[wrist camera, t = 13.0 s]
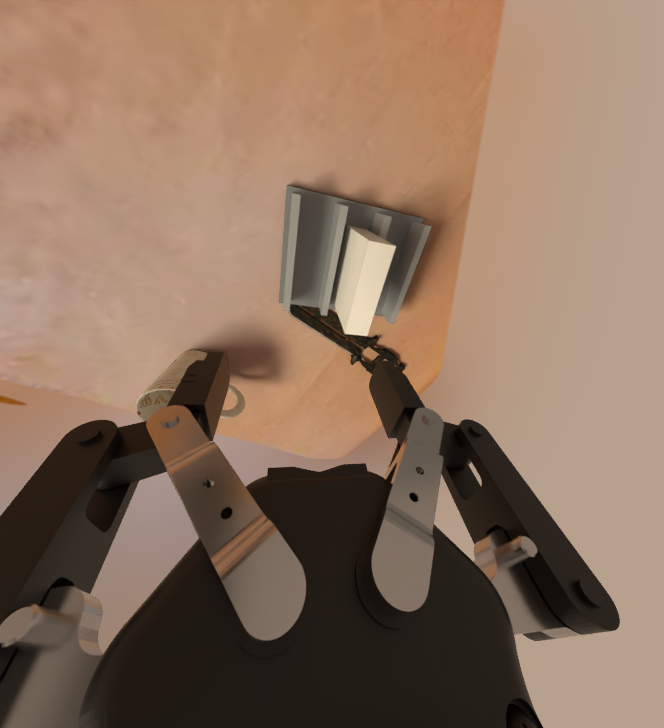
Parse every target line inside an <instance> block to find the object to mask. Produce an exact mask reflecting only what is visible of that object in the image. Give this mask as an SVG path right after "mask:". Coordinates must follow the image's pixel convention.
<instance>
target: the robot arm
mask: <svg viewBox="0 0 664 728" xmlns="http://www.w3.org/2000/svg"><path fill="white" fill-rule="evenodd" d="M229 379H230V377H229V367H228V358H227V352H226V351H209V352H208V353H207V356H206V358H205V360H196V361H195V362H194V363H192V364H191V365H190V366H188V368H187V370H186V372H185V374H184V376H183V377H182V379H181V382H180V383H179V385H178V386H177V388H176V390H175V392H174V394H173V396H172V397H171V399H170V401H169V403H168V405H167V406H166V407H164V408H162V409H159V410H158V411H156V412H155V413H153V414H152V415H151V416H150V417H149V419H148V420H147V421H144V422H141V423H137V424H132V425H128V426H123V427H119V428H118V427H117V426H116V425H115V423H114V422H112V421H108V420H97V421H91V422H88V423H85V424H82V425H80V426H78V427H76V428H75V429H73V430H71V431H70V432H69V433H67V434H66V435H65V436H64V437H63V438H62V440H61V441H60V442H59V443H58V445H57V446H56V447H55V449H54V450H53V451H52V452H51V454H50V455H49V456H48V457H47V459H46V460H45V461H44V462H43V464H42V465H41V466H40V467H39V469H38V470H37V471H36V472H35V474H34V475H33V476H32V477H31V479H30V480H29V481H28V482H27V484H26V485H25V486H24V488H23V489H22V490H21V491H20V492H19V494H18V495H17V496H16V497H15V499H14V500H13V501H12V502H11V504H10V505H9V506H8V507H7V509H6V510H5V511H4V512H3V514H2V515H1V516H0V728H543V727H542V725H541V723H540V721H539V719H538V717H537V714H536V712H535V710H534V708H533V705H532V702H531V700H530V697H529V694H528V691H527V688H526V685H525V682H524V678H523V675H522V671H521V668H520V663H519V659H518V655H517V651H516V644H515V638H514V635H517V634H523V635H524V636H526V637H527V638H529V639H531V640H534V641H540V640H547V639H555V638H563V637H570V636H577V635H585V634H592V633H599V632H607V631H613V630H616V629H617V628H618V627H619V623H620V619H619V614H618V611H617V609H616V607H615V604H614V602H613V601H612V599H611V597H610V596H609V594H608V593H607V591H606V590H605V589H604V588H603V586H602V585H601V583H600V582H599V581H598V579H597V578H596V577H595V575H594V574H593V573H592V571H591V570H590V569H589V567H588V566H587V564H586V563H585V562H584V560H583V559H582V558H581V556H580V555H579V554H578V552H577V551H576V550H575V548H574V547H573V546H572V544H571V543H570V541H569V540H568V539H567V538H566V536H565V535H564V533H563V532H562V531H561V529H560V528H559V527H558V525H557V524H556V523H555V521H554V520H553V519H552V517H551V516H550V514H549V513H548V512H547V510H546V509H545V508H544V506H543V505H542V504H541V502H540V501H539V500H538V498H537V497H536V496H535V494H534V493H533V491H532V490H531V489H530V487H529V486H528V485H527V483H526V482H525V481H524V479H523V478H522V477H521V475H520V474H519V472H518V471H517V470H516V468H515V467H514V466H513V464H512V463H511V462H510V460H509V459H508V458H507V456H506V455H505V454H504V452H503V451H502V449H501V448H500V447H499V445H498V444H497V443H496V441H495V440H494V439H493V437H492V436H491V435H490V433H489V432H488V431H487V429H485V428H484V427H483V426H482V425H481V424H479V423H477V422H475V421H473V420H468V419H466V420H463V421H461V423H460V424H459V425H454V424H450V423H447V422H443V420H442V418H441V417H440V416H439V415H438V414H437V413H436V412H434V411H433V410H431V409H428V408H425V407H424V405H423V403H422V401H421V400H420V398H419V396H418V395H417V393H416V391H415V390H414V389H413V386H412V385H411V384H410V382H409V380H408V378H407V377H406V376H405V375H404V374H403V373H402V372H401V371H400V370H397V369H396V367H395V366H394V364H393V362H392V361H380V360H379V361H377V363H376V365H375V368H374V371H373V374H372V376H371V379H370V383H369V389H370V392H371V395H372V398H373V400H374V403H375V405H376V408H377V410H378V413H379V416H380V418H381V421H382V423H383V426H384V428H385V431H386V434H387V436H388V438H397V440H398V442H397V444H396V447H395V449H394V452H393V454H392V457H391V460H390V462H389V465H388V468H387V470H386V473H385V475H384V477H381V476H379V475H377V474H375V473H372V472H369V471H367V468H366V464H346V465H345V464H344V465H340V466H337V467H334V468H331V469H328V470H325V471H322V472H316V471H311V470H306V469H301V468H296V467H281V468H268V475H267V476H265V477H262V478H260V479H258V480H256V481H254V482H252V483H250V484H249V485H248V486H246V487H245V486H244V484H243V483H242V482H241V480H240V478H239V477H238V475H237V474H236V472H235V471H234V469H233V468H232V466H231V465H230V464H229V462H228V461H227V459H226V458H225V456H224V455H223V453H222V452H221V450H220V449H219V447H218V446H217V445H216V444H215V443H214V442H213V443H211V442H210V441H213V438H214V435H215V431H216V428H217V424H218V421H219V418H220V414H221V411H222V407H223V404H224V401H225V397H226V394H227V391H228V387H229ZM471 462H472V463H473V465H474V467H475V468H476V470H477V472H478V473H479V475H480V477H481V480H482V486H480V484H479V483H478V481H477V479H476V477H475V476H474V474H473V472H472V471H471V469H470V467H469V464H470V463H471ZM164 472H168V474H169V477H170V479H171V481H172V483H173V485H174V487H175V489H176V491H177V493H178V495H179V497H180V499H181V501H182V503H183V506H184V507H185V510H186V512H187V514H188V516H189V518H190V520H191V522H192V524H193V526H194V529H195V531H196V533H197V535H198V537H199V539H198V541H196V543H195V544H194V545H193V546H192V548H190V550H189V551H188V552H187V553H186V554H185V555H184V557H183V558H182V559H181V560H180V561H179V562H178V564H177V565H176V566H175V567H174V568H173V569H172V570H171V572H170V573H169V574H168V575H167V576H166V577H165V579H164V580H163V581H162V582H161V583H160V584H159V586H158V587H157V588H156V589H155V590H154V591H153V593H152V594H151V595H150V596H149V597H148V598H147V600H146V601H145V602H144V603H143V604H142V605H141V607H140V608H139V609H138V610H137V611H136V612H135V614H134V615H133V616H132V617H131V618H130V619H129V620H128V622H127V623H126V624H125V625H124V626H123V628H122V629H121V630H120V631H119V633H118V634H117V635H116V637H115V638H114V640H113V641H112V642H111V644H110V645H109V647H108V648H107V650H106V651H105V653H104V654H103V653H102V652H101V650H100V648H99V644H98V632H99V627H100V623H101V620H102V612H103V610H102V604H101V602H100V600H99V599H98V598H96V597H95V596H93V595H91V594H90V593H91V591H92V588H93V586H94V584H95V581H96V579H97V577H98V574H99V572H100V570H101V568H102V565H103V563H104V561H105V558H106V556H107V554H108V551H109V549H110V547H111V544H112V542H113V540H114V538H115V535H116V533H117V531H118V528H119V526H120V524H121V521H122V519H123V517H124V515H125V512H126V510H127V507H128V505H129V503H130V500H131V498H132V496H133V494H134V491H135V489H136V487H137V484H138V482H139V480H142V479H145V478H148V477H151V476H154V475H158V474H161V473H164ZM441 474H442V476H443V478H444V480H445V482H446V484H447V486H448V489H449V491H450V493H451V495H452V497H453V499H454V502H455V504H456V506H457V508H458V510H459V512H460V514H461V517H462V519H463V521H464V523H465V525H466V527H467V529H468V532H469V533H470V536H471V538H472V540H473V542H474V544H475V546H474V556H475V561H474V562H473V561H472V560H471V559H470V558H469V557H468V556H467V555H465V554H464V553H463V552H462V551H461V550H460V549H459V548H458V547H457V546H456V545H455V544H454V543H453V542H452V541H451V540H450V539H449V538H448V537H447V536H446V535H445V534H443V533H442V532H441V531H440V530H439V529H438V528H437V527H436V526H435V525H434V519H435V512H436V505H437V498H438V491H439V485H440V478H441Z"/></svg>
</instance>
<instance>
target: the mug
mask: <svg viewBox="0 0 664 728" xmlns="http://www.w3.org/2000/svg"><path fill="white" fill-rule="evenodd" d="M206 356H207V353H205V352H202V351H198V350H191V351H187V352H184V353H182V354H181V355H180V356H179V357H178V358H177V359H176V360H175V361H174V362H173V363H172V364H171V365H170V366H169V367H168V368H167V369H166V370H165V371H164V372H163V373H162V374H161V375H160V376H159V377H158V378H157V379H156V380H155V381H154V382H153V383H152V384H151V385H150V386H149V387H148V388H147V389H146V390H145V391H144V392H143V393H142V394H141V396H140V397H139V398H138V400H137V402H136V411H137V413H138V415H139V417H140V418H141V419H142V420H143V421H147V420H148V419H149V417H150V416H151V415H152V414H153V413H155V412H156V411H158V410H159V409H162V408H164V407H166V406H167V405H168V403H169V401H170V399H171V397H172V396H173V394H174V392H175V390H176V388H177V386H178V385H179V383H180V382H181V379H182V377H183V376H184V374H185V372H186V370H187V368H188V366H190V365H191V364H192V363H194V362H195V361H196V360H205V358H206ZM228 390H229V391H231V392H232V393H233V394H234V395H235V397H236V399H237V405H236V407H234V408H233V409H231V410H222V411H221V414H220V417H221V418H232V417H235V416H237V415H238V414H240V413H241V412H242V411H243V409H244V407H245V399H244V397H243V395H242V394H241V393H240V392H239V391H238V390H237V389H236V388H235V387H234V386H232V385H229V387H228Z"/></svg>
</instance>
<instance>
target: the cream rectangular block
mask: <svg viewBox="0 0 664 728" xmlns="http://www.w3.org/2000/svg"><path fill="white" fill-rule="evenodd" d="M395 248H396V246H395V245H393V244H391V243H390V242H388V241H386V240H384V239H382V238H381V237H379V236H377V235H375V234H374V233H372V232H370V231H368V230H366V229H362V228H357V227H353V226H348V225H346V230H345V235H344V240H343V245H342V250H341V255H340V260H339V265H338V269H337V274H336V279H335V284H334V289H333V294H332V301H333V303H334V306H335V309H336V311H337V314H338V317H339V319H340V322H341V325H342V327H343V330H344V333H345V334H351V335H360V336H367V335H368V331H369V328H370V325H371V322H372V319H373V316H374V313H375V310H376V307H377V304H378V301H379V298H380V295H381V291H382V288H383V285H384V282H385V279H386V276H387V273H388V270H389V267H390V264H391V261H392V258H393V255H394V251H395Z"/></svg>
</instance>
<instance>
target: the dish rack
mask: <svg viewBox="0 0 664 728" xmlns="http://www.w3.org/2000/svg"><path fill="white" fill-rule="evenodd" d="M423 221H424V219H423V218H419V217H415V216H411V215H407V214H402V213H398V212H394V211H390V210H386V209H382V208H378V207H374V206H370V205H366V204H361V203H357V202H353V201H349V200H345V199H341V198H337V197H333V196H329V195H325V194H320V193H316V192H312V191H308V190H304V189H300V188H296V187H292V186H288V185H287V190H286V205H285V220H284V235H283V250H282V265H281V279H280V294H279V303H283V311H290V304H294V305H301V306H309V307H317V308H319V309H320V313H321V315H324V316H327V313H328V309H332V310H336V309H335V306H334V303H333V301H332V294H333V289H334V284H335V279H336V274H337V269H338V265H339V260H340V255H341V250H342V245H343V240H344V235H345V230H346V225H348V226H353V227H357V228H362V229H366V230H368V231H370V232H372V233H374V234H375V235H377V236H379V237H381V238H382V239H384V240H386V241H388V242H390V243H391V244H393V245H395V246H396V248H395V251H394V255H393V258H392V261H391V264H390V267H389V270H388V273H387V276H386V279H385V282H384V285H383V288H382V291H381V295H380V298H379V301H378V304H377V307H376V310H375V313H374V315H379V316H384V317H385V319H386V320H387V322H388V323H390V324H394V323H395V320H396V318H397V315H398V313H399V310H400V307H401V305H402V302H403V300H404V297H405V295H406V292H407V289H408V287H409V284H410V282H411V279H412V276H413V274H414V271H415V269H416V266H417V264H418V261H419V258H420V256H421V253H422V251H423V248H424V246H425V243H426V240H427V238H428V235H429V233H430V230H431V227H432V226H429V225H425V224H422V223H423Z"/></svg>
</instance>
